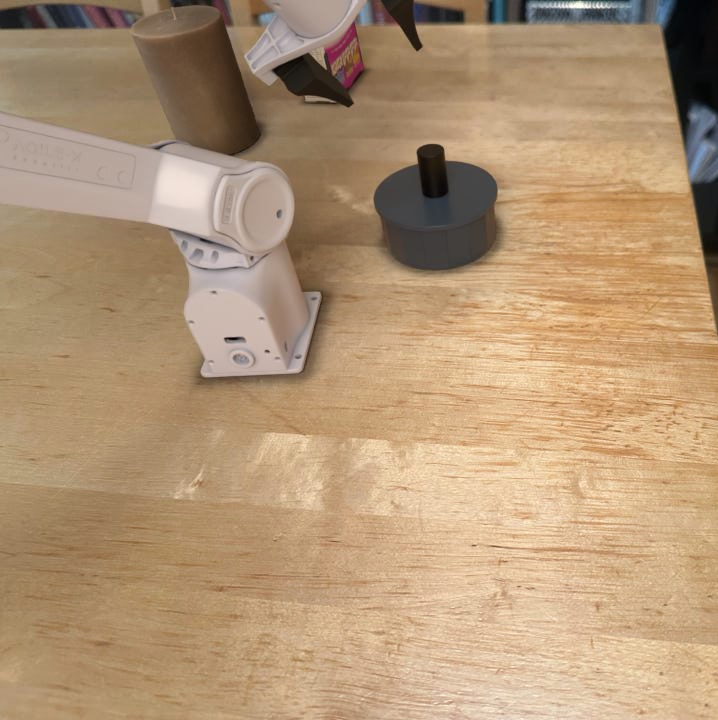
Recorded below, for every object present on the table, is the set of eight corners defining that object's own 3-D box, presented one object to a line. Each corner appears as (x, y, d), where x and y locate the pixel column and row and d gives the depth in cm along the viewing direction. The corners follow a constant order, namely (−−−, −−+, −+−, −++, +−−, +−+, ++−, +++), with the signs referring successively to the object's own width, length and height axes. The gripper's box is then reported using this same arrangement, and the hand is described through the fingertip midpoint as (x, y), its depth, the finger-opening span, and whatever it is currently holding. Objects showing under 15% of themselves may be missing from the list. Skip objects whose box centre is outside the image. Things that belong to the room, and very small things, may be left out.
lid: (499, 234, 55) (497, 180, 52) (368, 241, 56) (356, 188, 52) (496, 167, 63) (494, 116, 60) (382, 174, 64) (372, 124, 60)
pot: (496, 267, 58) (494, 225, 55) (381, 273, 59) (372, 232, 56) (494, 204, 66) (492, 164, 62) (392, 210, 66) (384, 170, 63)
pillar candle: (276, 131, 80) (237, -2, 70) (214, 167, 75) (161, 28, 64) (224, 116, 84) (178, -13, 74) (161, 148, 79) (103, 15, 68)
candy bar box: (332, 69, 93) (302, -65, 81) (365, 70, 92) (340, -66, 81) (301, 103, 85) (264, -39, 74) (337, 104, 85) (305, -39, 73)
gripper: (339, -152, 44) (425, -16, 56) (186, -8, 47) (300, 90, 60) (383, -87, 42) (463, 39, 54) (220, 59, 45) (331, 146, 58)
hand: (380, 70), depth 57 cm, fingers open, 7 cm apart
